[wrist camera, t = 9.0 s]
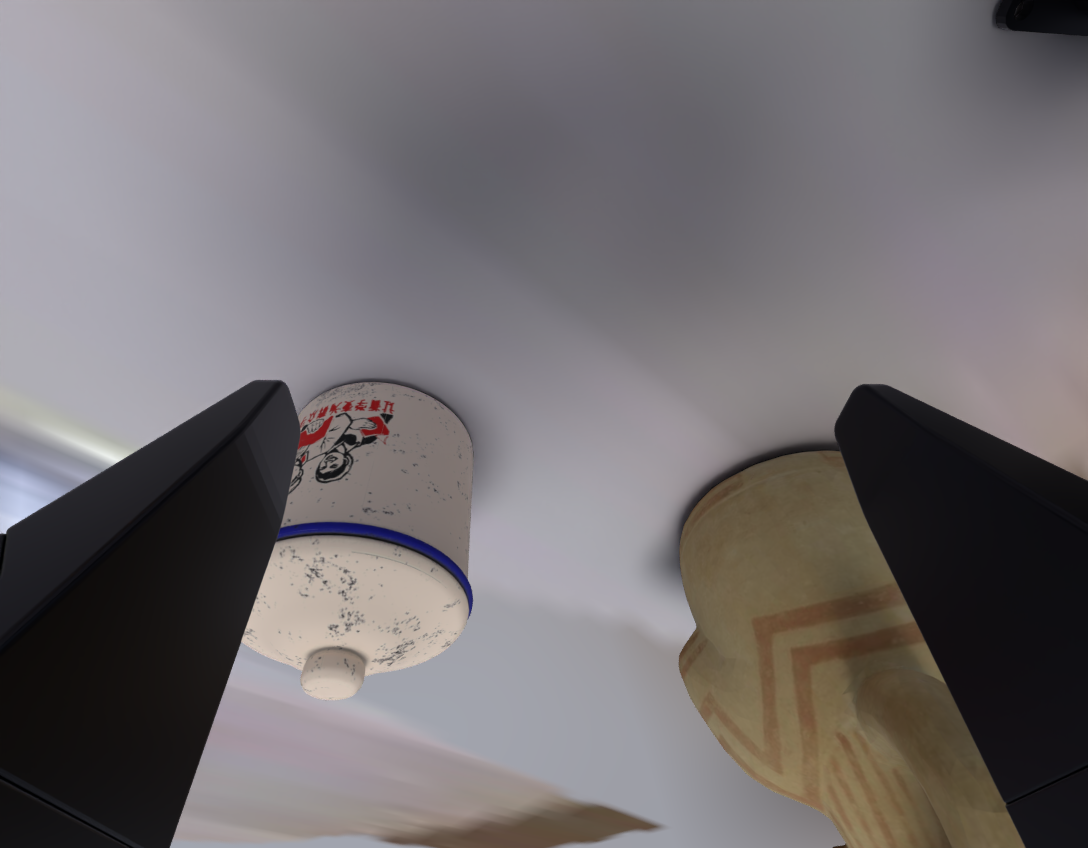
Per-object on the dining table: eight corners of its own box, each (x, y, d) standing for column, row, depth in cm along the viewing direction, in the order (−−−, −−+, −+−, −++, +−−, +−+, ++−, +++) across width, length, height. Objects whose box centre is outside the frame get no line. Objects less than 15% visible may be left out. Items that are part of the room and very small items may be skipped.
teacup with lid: (384, 337, 22) (309, 579, 13) (514, 458, 27) (523, 692, 18) (210, 464, 26) (62, 716, 17) (352, 549, 31) (295, 777, 22)
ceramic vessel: (684, 625, 40) (855, 1217, 21) (600, 459, 28) (825, 1517, 9) (924, 561, 36) (1392, 1205, 17) (948, 339, 24) (2597, 1675, 5)
